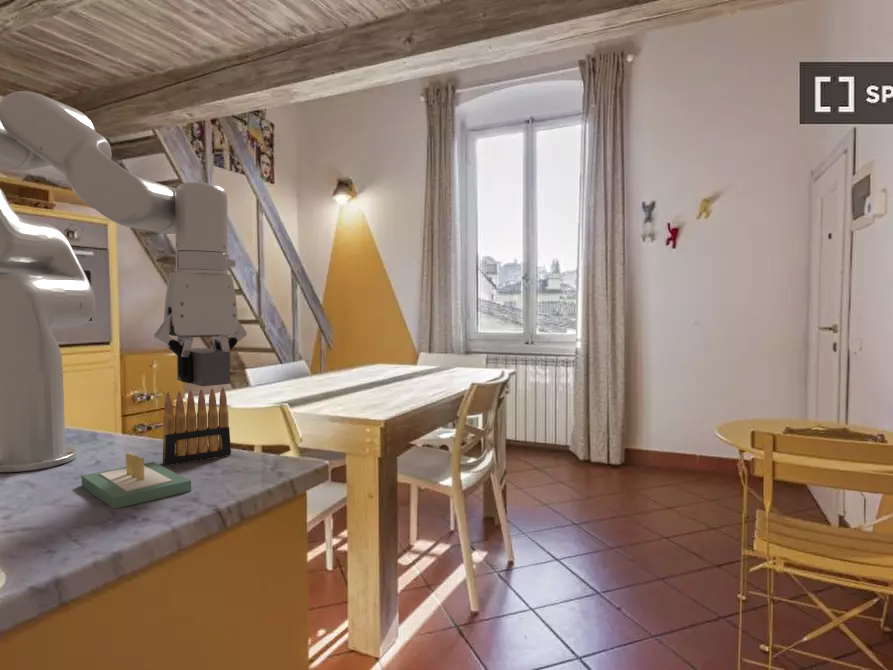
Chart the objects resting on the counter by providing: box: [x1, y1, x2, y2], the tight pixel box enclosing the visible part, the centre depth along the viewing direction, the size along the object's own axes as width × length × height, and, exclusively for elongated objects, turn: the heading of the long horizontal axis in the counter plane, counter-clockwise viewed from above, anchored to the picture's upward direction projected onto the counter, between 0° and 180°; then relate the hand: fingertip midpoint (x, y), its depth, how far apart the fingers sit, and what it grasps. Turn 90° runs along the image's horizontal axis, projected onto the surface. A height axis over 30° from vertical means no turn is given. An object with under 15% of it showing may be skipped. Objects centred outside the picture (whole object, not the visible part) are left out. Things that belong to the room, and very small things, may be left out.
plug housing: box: [176, 347, 231, 387], centre depth 92 cm, size 9×4×5 cm, turn 47°
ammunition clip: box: [162, 387, 232, 466], centre depth 99 cm, size 11×2×12 cm, turn 127°
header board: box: [81, 452, 192, 510], centre depth 84 cm, size 14×10×5 cm
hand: (203, 379), depth 92 cm, fingers closed on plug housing, 4 cm apart
